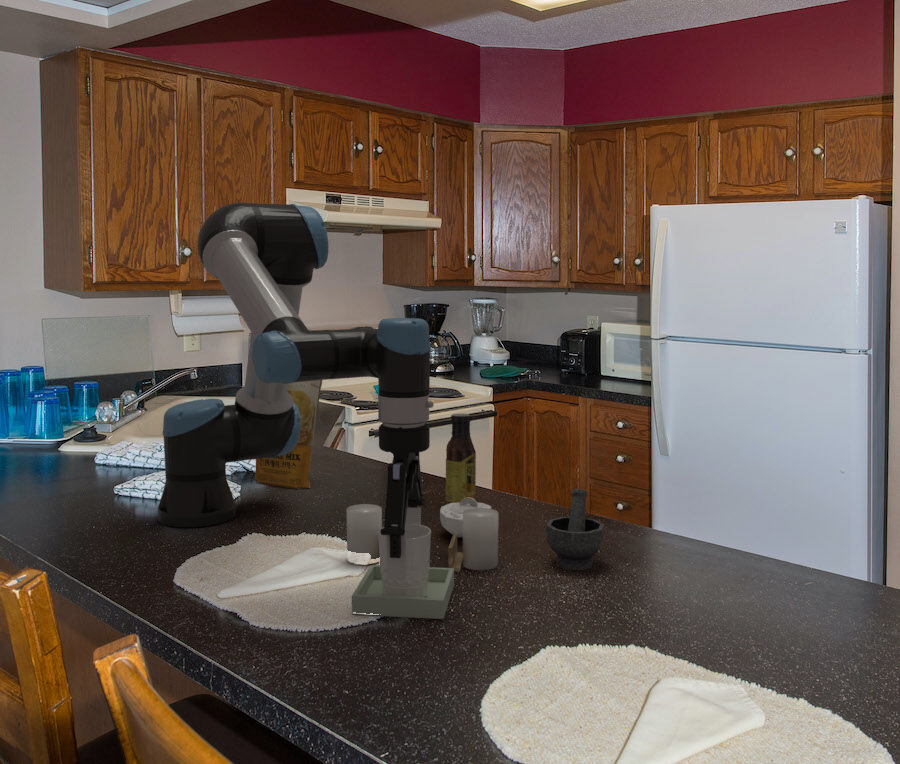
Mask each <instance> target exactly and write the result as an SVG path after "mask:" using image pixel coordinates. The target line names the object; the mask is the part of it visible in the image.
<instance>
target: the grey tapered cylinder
mask: <svg viewBox="0 0 900 764" xmlns="http://www.w3.org/2000/svg"><path fill="white" fill-rule="evenodd" d="M382 513H383V509H382V507H381V506H379V505H378V504H371V503H359V504H354V505H350V506H348V507H347V508H346V551H347V550H348V551H351V552H356V553H369V554H370V555H371V559H376V558H379V557H380V553H379V535H378V531H379V529H381V528H382V527H383V514H382Z"/></svg>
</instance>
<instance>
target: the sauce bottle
mask: <svg viewBox="0 0 900 764" xmlns="http://www.w3.org/2000/svg"><path fill="white" fill-rule="evenodd" d="M471 417H472V416H471V414H469V413H452V414H451V416H450V421H451V438H450V440H449V441H448V442H447V444H446V451H445V452H446V456H445V457H446V458H445V505H447V504H450V503H460V502H461V501H462V500H463V499H464V498H467V497H470V498H473V499H474V500H475V501H476V483H477V482H476V480H477V479H476V474H477V473H476V472H477V471H476V469H477V466H476V465H477V464H476V462H477V460H476V459H477V455H476V454H477V453H476V452H477V451H476V449H475V447H474V444H473V441H472V437H471V429H470V428H471V426H470V425H471Z"/></svg>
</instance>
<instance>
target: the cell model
mask: <svg viewBox="0 0 900 764" xmlns="http://www.w3.org/2000/svg"><path fill="white" fill-rule="evenodd" d="M472 508H488V509H492V506H491V505H489V504H487V503H484V502H477V500H476V499H475V500H474V499H473V498H470V497H467V498H464V499H463V500H462V501H461V502H460V503H450V504H447V505H446V504H444V505H442V506H441V507H440V510H439V519H440V524H441V526H442V528H444V529H445V530H446V531H447V532H448V533H449V534H451V535H452V536H453V534H454V533H457V538H463V511H465V510H467V509H472Z"/></svg>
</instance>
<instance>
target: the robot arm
mask: <svg viewBox="0 0 900 764" xmlns="http://www.w3.org/2000/svg"><path fill="white" fill-rule="evenodd" d="M327 231H328V230H327V227H326V225H325V221H324V220H323V217H322V215H321V214H320V213H319V211H317V210H316V209H315V208H313V207H312V206H306V205H298V204H295V203H291V204H289V203H288V204H282V203H280V204H279V203H255V202H254V203H250V202H234V203H228V204H226V205H223V206H221V207H220V208H217V209H216V210H215V211H213V212H212V213H210V215H209V216H208V217H207V218H206V219H205V221H204V222H203V223H202V226H201V227H200V229H199V233H198V237H197V252H198V253H197V254H198V256H199V259H200V262H201V264H202V265H203V266H204V269H205V270H206V271H207V273H208V274H209V275H211V276H212V277H213V278H215V279H218V281H219V282H220V283H221V285H222V287H223V288H224V290H225V292H226V293H227V295H228V297H229V298H230V299H231V301H232V303H233V304H234V306H235V308H236V310H237V311H238V313H239V315H240V316H241V317H242V319H243V321H244V322H245V324H246V326H247V328H248V329H249V331H250V337H249V338H250V339H249V347H248V355H247V364H246V373H245V380H244V381H245V382H244V386H243V387H241V388H239V390H238V391H237V392H236V393H235V400H234V404H228V405H226V404H225V403H224V402H223V400H222V399H219V398H207V399H203V398H201V399H195V400H189V401H185V402H182V403H178V404H176V405H175V404H174V405H173V406H171V407H169V408H168V409H166V411H165V413H164V414H163V424H162V427H163V428H162V429H163V430H162V436H163V450H164V451H163V452H164V453H163V454H164V472H165V482H164V486H163V489H162V493H161V497H160V499H159V500H160V501H159V503H158V507H157V521H158V522H159V524H162V525H164V526H169V527H175V528H199V527H207V526H208V527H209V526H214V525H215V526H216V525H218V524H223V523H225V522H228V521H230V520H232V519H234V518H235V517H236V515H237V505H236V501H235V498H234V496H233V493H232V491H231V488H230V486H229V482H228V480H227V474H226V473H227V472H226V465H227V463H234V462H241V461H250V460H256V459H259V458H274V457H276V456H281V455H286V454H288V453H290V452H291V451H292V450H293V449H294V448H295V446H296V444H297V442H298V440H299V436H300V431H301V423H300V419H301V417H300V412H299V409H298V407H297V405H296V404H295V403H294V402H293V398H292V396H291V395H290V394H289V393H288V392H287V391H288V384H289V383H293V382H304V381H315V380H322V381H323V380H339V379H354V378H355V379H356V378H375V379H377V380H378V394H377V395H378V398H377V401H378V403H377V405H378V411H377V413H378V417H377V420H378V421H379V422H380V423H381V424H380V425H379V426H378V447H379V449H380V450H381V451H383V452H386V453H391V454H392V455H393V456H392V462H390V463H389V464H388V466H387V469H386V470H387V483H386V484H387V486H386V498H385V511H384V523H383V527H384V528H383V529H381V535H387V578H396V579H406V533H405V523H411V524H419V525H422V519H421V518H422V517H421V516H422V511H421V509H422V507H425V506H426V498H423V497H424V492H423V485H422V483H423V482H422V472H421V464H420V463H421V462H420V453H422V452H426V451H427V450H429V448H430V445H431V444H430V441H431V440H430V430H431V429H430V428H431V427H430V425H429V424H428V423H427V422H428V421H429V420H430V409H431V408H434V406H435V405H434V402H433V401H431V400H429V399H430V388H431V387H430V384H431V383H430V381H431V380H430V377H431V376H430V375H431V371H430V370H431V369H430V368H431V345H432V344H431V343H430V327H429V324H428V322H427V321H426V320H425V319H422V318H418V317H417V318H416V317H415V318H411V317H389V318H383V319H381V320H380V321H379V323H378V326H377V328H376V327H375V328H374V327H372V326H367V325H366V326H355V327H351V328H344V329H343V328H341V329H340V328H339V329H318V330H317V329H316V330H309V329H308V327H307V326H306V325H305V323H304V322H303V320H302V319H301V317H300V316H299V313H300V306H301V302H302V292H303V288H304V287H306V286H308V285H309V284H310V283H311V282H312V279H313V274H314V269H315V270H319V269H321V268H323V267H324V266H325V264H326V263H327V261H328V257H329V247H330V245H329V237H328V232H327ZM392 525H398V526H392Z"/></svg>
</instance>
